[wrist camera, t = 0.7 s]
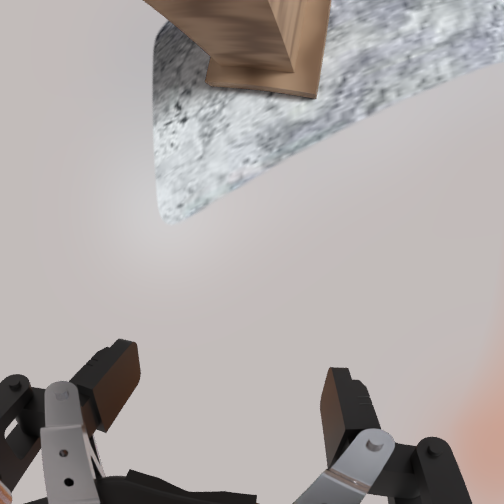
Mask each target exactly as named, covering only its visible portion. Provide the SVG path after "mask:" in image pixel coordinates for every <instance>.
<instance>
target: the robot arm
mask: <svg viewBox="0 0 504 504" xmlns="http://www.w3.org/2000/svg"><path fill="white" fill-rule="evenodd" d="M140 374H141V372H140V364H139V357H138V348H137V344H136V343H135V342H132V341H128V340H123V339H118V340H117V341H116V342H115V343H114V344H113V345H112V346H111V347H110V348H109V347H106V348H104V349H102V350H100V351H98V352H97V353H96V354H95V355H94V356H93V357H92V358H91V360H89V361H88V362H87V363H86V365H84V366H83V367H82V368H81V369H80V370H79V371H78V372H77V373H76V374H75V376H74V377H73V378H72V379H71V380H70V381H69V382H67V381H59V382H55V383H52V384H51V385H50V386H48V387H47V388H46V389H41V388H34V387H31V385H30V382H29V380H28V378H27V377H25V376H24V375H20V374H16V375H10V376H8V377H6V378H5V379H4V380H3V381H2V382H1V383H0V504H11V503H12V495H11V493H12V491H13V489H14V488H15V486H16V485H17V483H18V482H19V480H20V478H21V477H22V476H23V474H24V473H25V471H26V470H27V468H28V467H29V465H30V463H31V462H32V461H33V459H34V458H35V456H36V455H37V453H38V452H39V450H40V449H41V450H42V461H43V469H44V478H45V484H46V491H47V497H45V498H42V499H39V500H36V501H32V502H28V503H25V504H258V503H256V499H257V495H249V494H240V493H232V492H225V491H220V492H188V491H185V490H183V489H181V488H179V487H176V486H174V485H172V484H170V483H168V482H166V481H164V480H162V479H160V478H157V477H154V476H150V475H146V474H143V473H140V472H137V471H134V470H131V469H130V470H129V472H128V474H127V476H109V477H106V476H105V473H104V470H103V467H102V464H101V460H100V457H99V453H98V450H97V446H96V442H95V438H94V435H93V433H94V432H95V430H96V429H97V430H100V431H102V432H105V433H106V432H107V431H108V429H109V428H110V426H111V425H112V423H113V421H114V420H115V418H116V417H117V415H118V414H119V412H120V411H121V409H122V408H123V406H124V405H125V403H126V402H127V400H128V398H129V397H130V395H131V394H132V392H133V391H134V389H135V388H136V386H137V385H138V383H139V380H140ZM320 411H321V418H322V425H323V433H324V440H325V448H326V457H327V466H328V469H326V470H325V471H324V472H323V473H322V474H321V475H320V476H319V477H318V478H317V479H316V480H315V481H314V482H313V484H311V486H310V487H309V488H308V489H307V490H306V491H305V492H304V493H303V494H302V495H301V496H300V497H299V498H298V499H297V500H296V501H295V502H293V504H360V502H361V500H363V498H364V497H365V495H366V494H373V495H380V496H387V497H388V503H389V504H472V502H471V499H470V496H469V493H468V491H467V488H466V485H465V482H464V480H463V477H462V475H461V472H460V470H459V467H458V465H457V462H456V460H455V457H454V455H453V452H452V450H451V448H450V446H449V445H448V443H447V442H446V441H444V440H442V439H440V438H437V437H427V438H424V439H422V440H421V441H420V442H419V443H418V445H417V446H411V445H404V444H398V443H395V441H394V439H393V437H392V436H391V435H390V434H389V433H387V432H385V431H383V430H381V427H380V424H379V421H378V418H377V416H376V413H375V410H374V407H373V405H372V401H371V399H370V396H369V393H368V390H367V388H366V386H364V385H363V384H362V382H361V381H359V380H352V379H351V375H350V372H349V369H348V368H333V367H330V368H329V370H328V373H327V377H326V380H325V384H324V388H323V392H322V396H321V401H320ZM14 419H16V421H17V422H18V424H17V425H16V427H15V428H14V429H13V430H12V431H11V433H10V434H9V435H8V436H7V438H6V439H5V436H4V434H5V430H6V428H7V427H8V426H9V425H10V423H11V422H12V421H13V420H14Z"/></svg>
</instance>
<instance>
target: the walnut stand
mask: <svg viewBox="0 0 504 504" xmlns="http://www.w3.org/2000/svg"><path fill="white" fill-rule="evenodd" d="M143 1H145V2H146V3H147V4H149V5H150V6H152V7H153V8H154V9H155V10H156V11H158V12H159V13H160V14H162V15H163V16H164V17H165V18H166V19H168V20H169V21H170V22H171V23H173V24H174V25H175V26H176V27H177V28H179V29H180V30H181V31H182V32H183V33H185V34H186V35H187V36H188V37H189V38H190V39H191V40H193V41H194V42H195V43H196V44H197V45H198V46H199V47H201V48H202V49H203V50H204V51H205V52H206V53H207V54H208V55H209V56H210V61H209V66H208V70H207V74H206V79H205V82H206V83H207V84H209V85H210V86H213V87H229V88H241V89H251V90H260V91H269V92H276V93H283V94H290V95H296V96H302V97H308V98H314V99H316V97H317V91H318V86H319V80H320V73H321V67H322V61H323V55H324V48H325V42H326V35H327V28H328V21H329V14H330V7H331V0H143Z"/></svg>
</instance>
